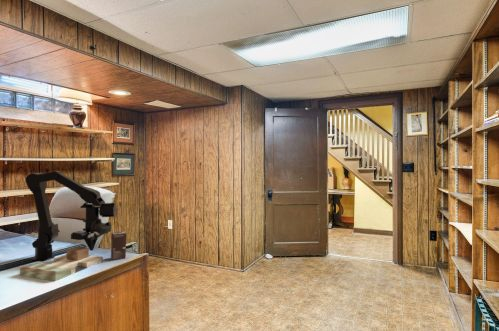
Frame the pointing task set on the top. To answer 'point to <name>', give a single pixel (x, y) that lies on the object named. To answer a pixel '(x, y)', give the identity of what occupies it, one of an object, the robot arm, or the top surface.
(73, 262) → the trap board
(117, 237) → the box
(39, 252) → the robot arm
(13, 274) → the top surface
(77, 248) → the block
